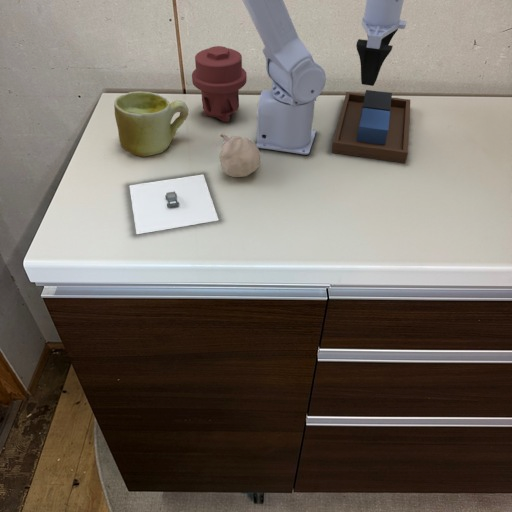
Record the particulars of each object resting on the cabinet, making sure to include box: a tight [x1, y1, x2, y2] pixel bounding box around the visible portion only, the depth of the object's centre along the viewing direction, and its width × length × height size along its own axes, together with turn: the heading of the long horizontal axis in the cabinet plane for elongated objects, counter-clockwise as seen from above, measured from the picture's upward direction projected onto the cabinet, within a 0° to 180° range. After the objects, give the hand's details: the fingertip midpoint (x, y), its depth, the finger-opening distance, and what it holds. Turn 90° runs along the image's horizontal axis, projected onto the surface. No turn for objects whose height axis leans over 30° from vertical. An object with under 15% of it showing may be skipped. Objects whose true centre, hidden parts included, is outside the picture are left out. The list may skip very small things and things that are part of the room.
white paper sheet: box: [129, 174, 219, 235], centre depth 72 cm, size 12×12×2 cm
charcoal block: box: [360, 89, 393, 120], centre depth 90 cm, size 5×7×3 cm
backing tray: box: [331, 91, 411, 164], centre depth 88 cm, size 13×20×2 cm, turn 166°
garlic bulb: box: [219, 133, 261, 178], centre depth 75 cm, size 7×6×8 cm
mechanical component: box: [191, 45, 248, 123], centre depth 88 cm, size 12×10×10 cm
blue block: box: [357, 108, 390, 145], centre depth 85 cm, size 5×7×3 cm
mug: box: [113, 90, 190, 158], centre depth 81 cm, size 12×10×10 cm
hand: (371, 75), depth 83 cm, fingers open, 7 cm apart
